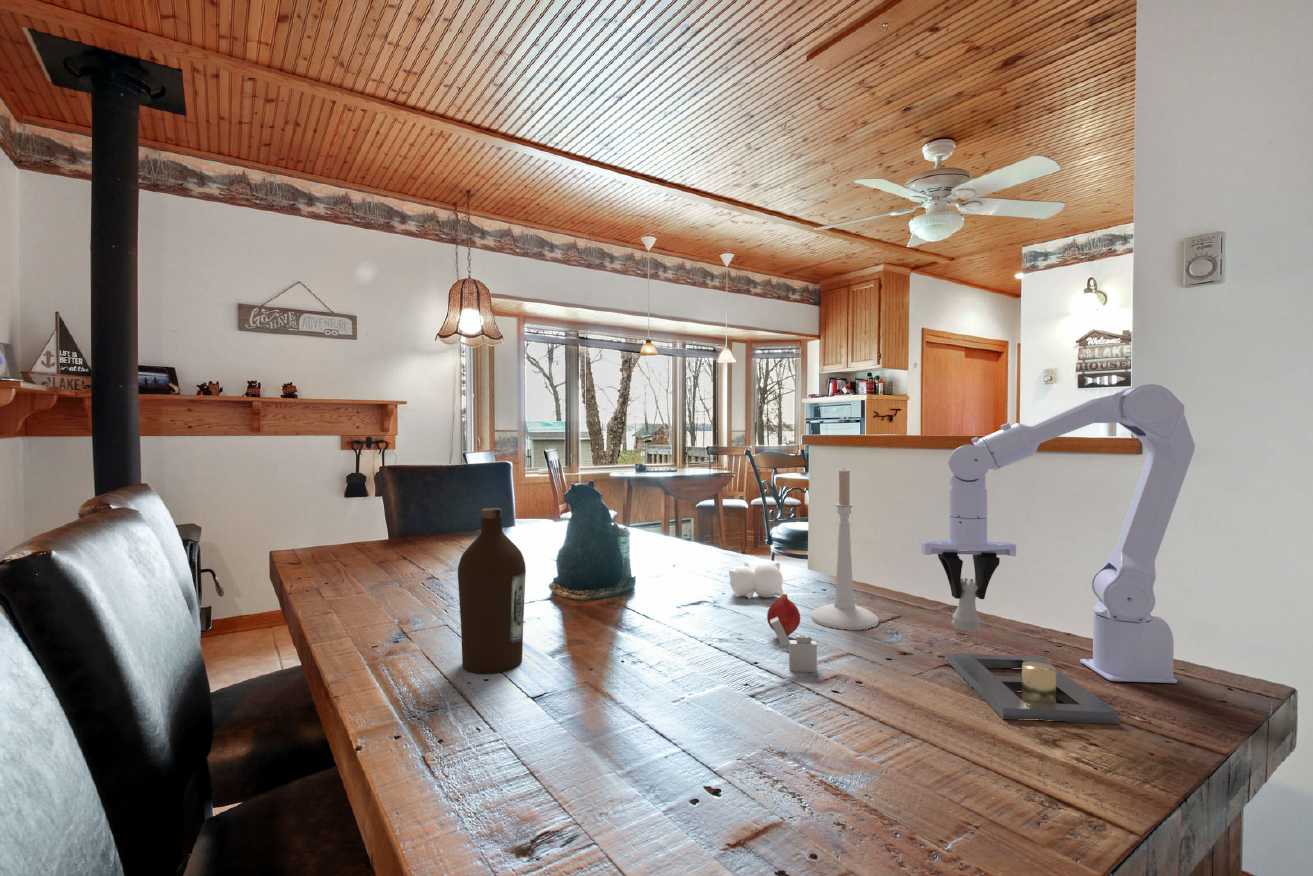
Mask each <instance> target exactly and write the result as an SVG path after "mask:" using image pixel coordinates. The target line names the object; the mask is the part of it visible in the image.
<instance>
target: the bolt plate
mask: <svg viewBox="0 0 1313 876" xmlns="http://www.w3.org/2000/svg"><path fill="white" fill-rule="evenodd" d="M946 654H947V656H946V657H947V662H948V663H949V664H950V665H951V666H952V667H953V668H954V669H955V670H956V671H957V672H958V673H959V674H960V675H961V676H960V675H959V674H958V673H957V672H956V671H955V670H954V669H953V668H952V667H951V666H950V665H949V664H948V663H947V664H948V665H949V666H950V667H951V668H952V669H953V670H954V671H955V672H956V673H957V674H958V675H959V676H960V677H961V678H962V679H963V678H964V679H965V680H966V681H965V680H964V679H963V680H964V681H965V682H966V683H967V682H968V683H969V684H970V685H969V684H968V683H967V684H968V685H969V687H971V688H972V687H973V688H974V689H973V688H972V689H973V690H974V692H976V693H977V695H979V697H980V698H981V699H982V700H983V699H984V700H986V702H987V703H988V704H989V705H990V706H991V707H992V708H993V709H992V708H991V707H990V706H989V705H988V704H987V703H986V702H985V703H986V704H987V705H988V706H989V707H990V708H991V709H992V710H993V711H994V710H995V711H996V712H997V713H998V714H999V715H1000V716H1001V717H1002V718H1001V717H1000V716H999V715H998V714H997V713H996V712H995V711H994V712H995V713H996V714H997V715H998V716H999V717H1000V718H1001V719H1002V720H1003V719H1039V720H1040V719H1041V720H1042V719H1043V720H1051V721H1052V720H1053V721H1066V722H1065V723H1075V722H1076V723H1079V724H1080V723H1081V724H1099V725H1101V724H1102V723H1103V725H1105V724H1107V725H1119V724H1120V717H1119V716H1120V715H1119V714H1120V712H1119V711H1117V710H1116V709H1115V708H1113V707H1112V706H1110V705H1109V704H1108V703H1106V702H1105V701H1103V700H1102V699H1100V698H1099V697H1098V696H1096V695H1095V694H1093V693H1092V692H1091V691H1089V690H1088V689H1086V688H1085V687H1083V686H1082V685H1081V684H1079V683H1078V682H1076V681H1075V680H1073V679H1072V678H1071V677H1069V676H1068V675H1067V674H1065V673H1064V672H1062V670H1060V669H1058V668H1057V667H1056V666H1054V665H1053V664H1051V663H1049V661H1047V660H1046V659H1044V658H1043V657H1041V656H1040V655H1014V654H985V653H984V654H983V653H981V654H979V653H977V654H975V653H953V652H952V653H950V652H949V653H946ZM990 668H1022V670H1021V676H1013V675H1011V676H1010V675H1009V676H1008V675H1007V676H1006V675H994V674H993V673H992V672H991V671H990V670H988V669H990ZM1012 691H1022V693H1021V698H1020V697H1019V696H1017V694H1016V693H1015V692H1012ZM1056 696H1057V697H1058V698H1059V700H1060V701H1061V700H1062V701H1063V702H1062V701H1061V702H1062V703H1057V699H1058V698H1057V697H1056ZM984 700H983V701H984ZM1022 700H1023V701H1022ZM1076 723H1075V724H1076ZM1100 723H1101V724H1100Z"/></svg>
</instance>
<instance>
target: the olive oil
mask: <svg viewBox="0 0 1313 876" xmlns="http://www.w3.org/2000/svg"><path fill="white" fill-rule="evenodd" d="M502 514H503V509H502V508H499V507H487V508H482V509H481V517H480V529H481V530H480V531H481V532H480V533H479V534H478V536H477V537H476V538H475V539H474V540H473V542H471V544H470V545H469V546H468V547H467V548H466V549H465V550H464V551H463V554H462V555H461V557H460V559H459V563H458V567H457V582H458V583H457V585H458V598H459V599H458V600H459V602H458V603H459V615H460V616H459V617H460V634H461V659H462V660H461V662H462V663H461V664H462V668H463V669H464V670H466V671H467V672H469V673H474V674H481V675H482V674H485V675H486V674H498V673H503V672H506V671H509V670H512V669H515V668H516V667H518V666H519V665H520V664H521V663H522V662H523V651H524V650H523V649H524V648H523V647H524V646H523V644H524V643H523V642H524V640H523V639H524V619H525V617H524V615H525V591H526V590H525V589H526V577H527V576H526V573H527V570H526V569H527V568H526V563H525V558H524V555H523V552H521V550H520V548H519V547H517V545H515V543H514V542H513V541H512V540H511V539H510V538H509V537H508V536H507V535H506V534H505V533H504V531H503V516H502Z"/></svg>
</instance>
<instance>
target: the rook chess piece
mask: <svg viewBox="0 0 1313 876" xmlns="http://www.w3.org/2000/svg"><path fill="white" fill-rule="evenodd" d="M978 588H979V586H978V585H977V581H976V580H975V579H973V578H969V580H968V577H964V578H962V577H961V598H960V599H959V600H958V605H957V608H956V609H955V612H954V613H953V614H952V617H951V619H952V620H951V624H952V625H953V627H954V628H956V629H959V630H962V631H966V632H975V631H976V632H977V631H978V630H979V629H980V628H981V627H982V626H981V624H980V623H981V618H980V617H979V613H978V612H977V607H976V605H977V604H976V599H977V598H978V597H977V595H976V593H975V592H976V590H977V589H978Z"/></svg>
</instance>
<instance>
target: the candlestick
mask: <svg viewBox="0 0 1313 876" xmlns="http://www.w3.org/2000/svg"><path fill="white" fill-rule="evenodd" d="M850 476H851V475H850V470H846V469H845V468H843V470H838V503H835V504H834V505H835V506H836V508H837V514H838V515H839V519H840V520H839V522H838V538H837V539H838V540H837V558H836V575H835V576H836V577H835V595H834V602H833V603H831V604H824V605H822V606H819V607H817V608H815V609H814V610H813V611H812V612H811V613H810V619H811V618H812V619H811V620H812V621H813V622H814V623H815V624H817V623H818V625H820V624H821V625H820V626H823V625H824V626H823V627H827V628H830V627H833V628H832V629H836V628H839V629H838V630H844V629H847V630H846V631H861V630H862V629H864V630H869V629H868V628H870V629H872V628H871V627H873V628H875V627H877V626H879V621H880V619H879V618H878V616H877V615H875V613H873V612H872V611H870V610H869V609H867V608H865V607H861V606H859V605H856V604H855V600H854V583H853V571H852V570H853V567H852V545H851V529H850V527H851V526H850V525H851V523H850V521H849V517H850V515H851V514H852V507H854V504H853V503H851V502H850V500H851V499H850V495H851V494H850V490H851V489H850V483H851V482H850V479H851V478H850Z"/></svg>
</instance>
